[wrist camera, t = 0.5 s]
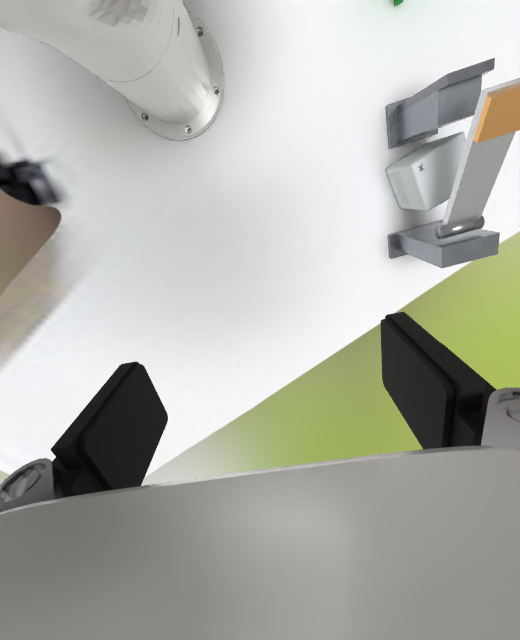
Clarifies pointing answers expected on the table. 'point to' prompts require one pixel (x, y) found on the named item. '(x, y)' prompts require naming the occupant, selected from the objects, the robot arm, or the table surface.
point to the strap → (482, 158)
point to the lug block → (436, 105)
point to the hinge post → (443, 245)
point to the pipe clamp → (397, 2)
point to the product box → (427, 173)
